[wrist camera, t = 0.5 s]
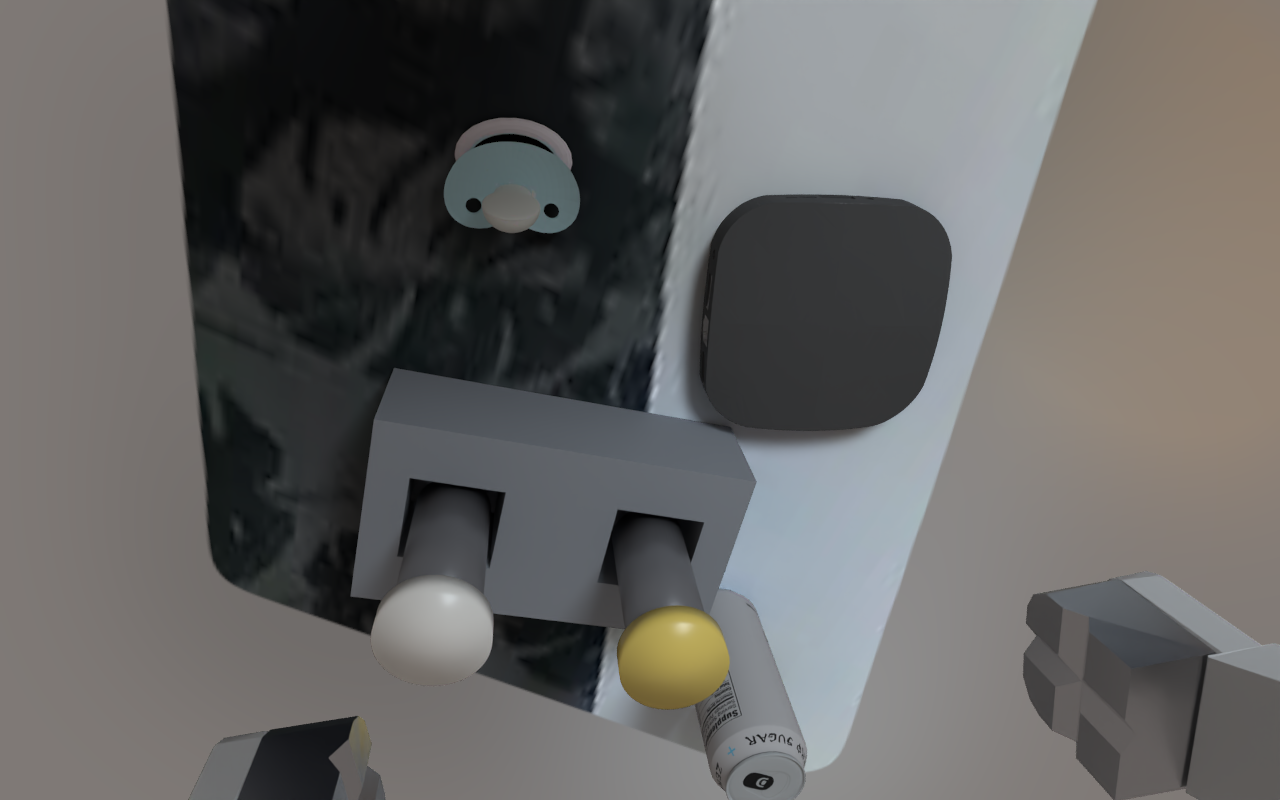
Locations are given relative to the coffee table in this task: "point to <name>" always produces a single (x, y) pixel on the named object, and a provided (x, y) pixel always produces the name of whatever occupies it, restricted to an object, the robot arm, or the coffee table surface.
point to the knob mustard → (663, 617)
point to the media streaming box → (822, 310)
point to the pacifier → (512, 179)
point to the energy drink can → (750, 713)
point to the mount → (547, 490)
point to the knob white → (439, 592)
